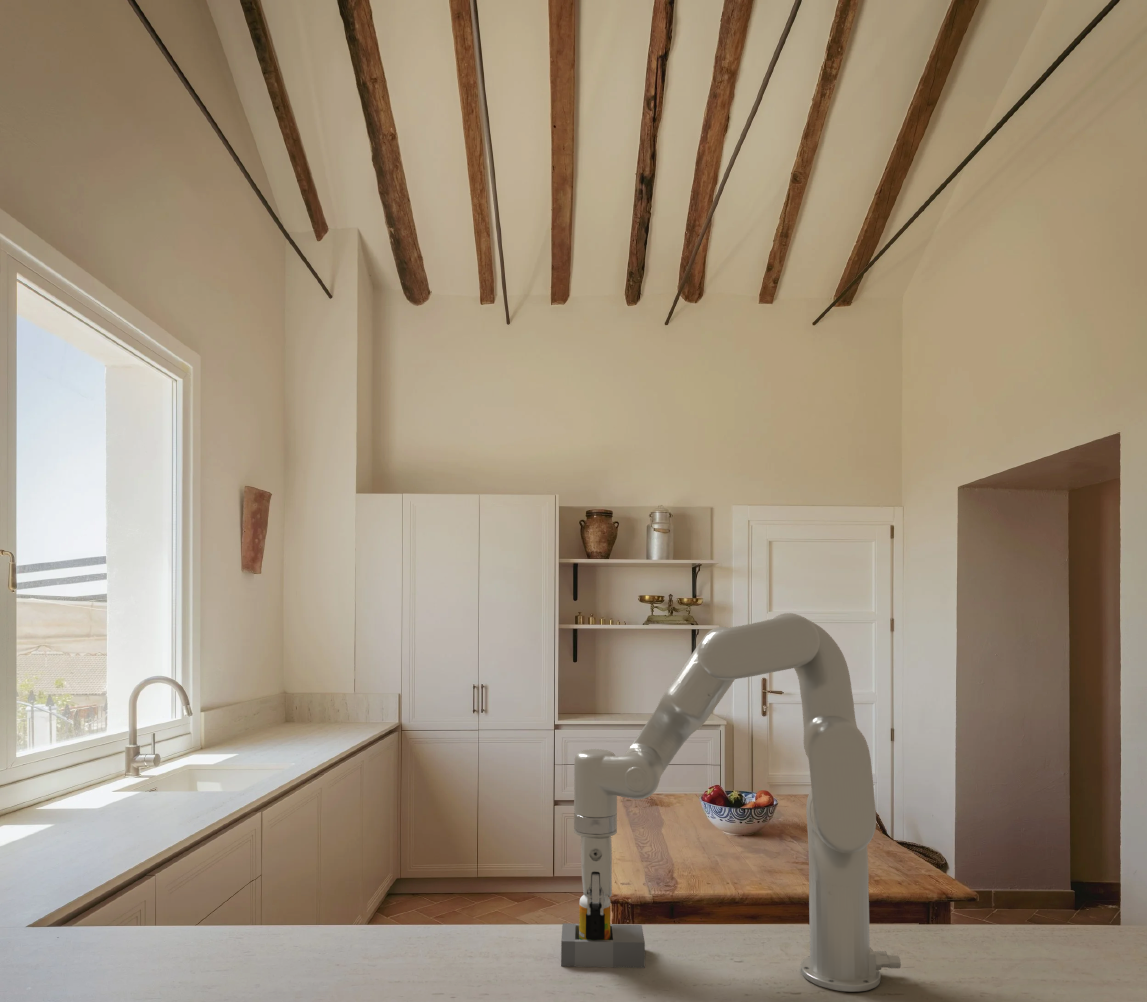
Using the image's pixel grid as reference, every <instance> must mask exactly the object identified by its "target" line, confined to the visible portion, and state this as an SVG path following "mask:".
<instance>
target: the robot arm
mask: <svg viewBox="0 0 1147 1002" xmlns="http://www.w3.org/2000/svg"><path fill="white" fill-rule="evenodd" d="M791 669H794V671H795V673H796V676H797V679H798V683H799V692H800V700H801V707H802V722H803V749H804V751H805V754H806V757H807V759H808V765H809V767H808V768H809V775H810V776H809V777H810V785H811V788H810V791H809V793H808V795H807V799H806V810H805V812H806V827H807V841H808V842H807V844H808V845H807V846H808V901H809V902H808V908H809V911H808V912H809V913H808V915H809V917H808V918H809V956H806V957H805V958H803V959H802V960H801V962H800V973H801V975H802V976H803V977H804V978H805V979H806V980H807V981H809V982H810V983H812V984H814V985H815V986H819V987H822V988H824V989H829V990H834V991H837V992H839V991H840V992H848V993H857V992H859V993H860V992H866V991H870V990H872V989H875V988H876V987H878V986H879V984H880V983H881V972H880V971H881V970H882V968H888V969H900V968H901V966H902V964H901V958H900V955H894V954H888V952H887V950H876V951H875V950H873V949H872V947H870V945H871V944H870V941H871V940H870V937H871V936H870V902H869V901H870V900H869V899H870V898H869V897H870V894H869V893H870V892H869V890H870V889H869V880H870V879H869V853H868V845H869V844H870V842H871V841H872V840H873V837H874V836H875V832H876V828H877V813H876V812H877V810H876V801H875V799H876V798H875V789H874V780H873V770H872V769H873V768H872V761H871V760H872V759H871V753H870V749H869V745H868V742H867V740H866V738H865V736H864V734H863V733H862V731H861V730H860V729H859V728H858V725H857V721H856V712H855V705H854V704H855V703H854V697H853V696H854V695H853V690H852V682H851V676H850V671H849V667H848V664H847V660H846V657H845V656H844V654H843V652H842V650H841V647H840V646H839V645H838V643H837V642H836V641H835V639H834V638H833V637H832V636H831V635H830V634H829V633H828V632H827V631H826V630H825V629H824V628H822V627H821V626H820V625H818V624H816V623H815V622H813V621H812V620H810V619H807V618H806V617H804V616H802V615H800V614H796V613H792V612H785V613H780V614H778V615H776V616H775V617H774V618H771V619H767V620H762V621H758V622H757V621H756V622H753V623H750V624H749V623H747V624H744V625H737V626H732V627H726V626H717V627H714V628H712V629H711V630H709V631H707V633H706V634H704V636H703V637H702V639H701V640H700V642H699V643H698V645H697V646H696V647H695V649H694V650H693V652H692V653H691V655H690V656H689V657H688V659H687V660H686V661H685V664H684V665H683V666H682V668H681V669H680V670H679V671H678V673H677V674H676V676H675V678H674V679H673V680H672V682H671V683H670V684H669V686H668V687H667V689H666V690H665V692H664V693H663V695H662V697H661V698H660V701H658V702H659V703H658V705H657V706H656V708H655V710H654V712H653V714H652V715H651V716H650V718H649V719H648V720H647V722H646V723H645V725H644V726H643V728H642V729H641V731H640V732H639V734H638V735H637V736H636V738H635V739H634V741H633V742H632V743H631V745H630V746H629V747H628V749H627V751H626V752H625V753H624V754H623V755H616V754H614V752H612V751H611V750H607V749H599V748H598V749H597V748H595V749H594V748H593V749H592V748H591V749H583V750H580V751H578V752H577V753H576V755H575V757H574V762H573V763H574V764H573V765H574V766H573V768H574V770H573V772H574V773H573V777H574V778H573V779H574V782H573V783H574V784H573V786H574V787H573V791H574V792H573V793H574V795H573V796H574V797H573V800H574V801H573V833H574V834H575V835H577V836H580V865H581V866H580V867H581V882H582V890H583V891H582V892H583V895H585V896H586V897H587V914H586V939H594V940H603V939H604V938H605V914H603V898H604V896H603V892H604V895H605V896H608V897H609V898H611V897H612V895H613V890H612V888H613V877H612V875H613V872H612V868H613V867H612V866H613V852H612V851H613V850H612V848H613V847H612V837H613V836H615V835H616V834H617V833H618V797H621V798H627V799H630V800H631V799H632V800H645V799H647V798H649V797H651V796H652V795H653V794H654V793H655V792H656V790H658V787H659V783H660V781H661V778H662V775H663V774H664V772H665V770H666V769H667V767H668V766H669V765H670V763H671V762H672V760H673V759H674V757H676V755H677V753H678V752H679V751H680V749H681V748H682V746H683V745H684V743H686V741H687V740H688V739H689V738H690V737H691V736H692V734H694V733H695V732H697V730H699V729H701V727H703V725H704V724H705V723H706V722H707V720H708V719H709V718H710V717H711V715H712V713H713V712H714V710H715V709H716V707H717V706H718V705H719V703H720V702H721V700H722V699H723V697H724V696H725V694H726V693H727V691H728V690H729V689H730V687H731V686H732V685H733V684H734V682H735V680H739V679H745V678H749V677H750V678H752V677H756V676H760V675H767V674H772V673H776V672H781V671H782V672H783V671H786V670H791ZM590 891H592V895H590ZM599 891H601V895H599ZM590 899H592V902H591V903H590ZM599 899H600V902H599ZM590 909H591V911H590ZM590 913H591V914H590Z"/></svg>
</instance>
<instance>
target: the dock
mask: <svg viewBox="0 0 1147 1002" xmlns="http://www.w3.org/2000/svg"><path fill="white" fill-rule="evenodd" d="M561 925H562V926H561V941H560V942H561V943H560V944H561V946H560V947H561V948H560V949H561V951H560V955H561V956H560V965H561V966H560V967H582V968H583V967H586V968H587V967H589V968H594V967H595V968H597V967H598V968H637V969H638V968H639V969H641V968H643V969H645V966H646V965H645V964H646V961H645V960H646V953H645V952H646V942H645V936H644V930H643V925H642V924H621V923H620V924H617V923H616V924H615V923H614V924H613V923H610V940H579V923H562V924H561Z"/></svg>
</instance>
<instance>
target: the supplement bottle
mask: <svg viewBox="0 0 1147 1002" xmlns="http://www.w3.org/2000/svg"><path fill="white" fill-rule="evenodd" d="M590 895H592V891H590ZM599 895H601V891H599ZM603 896H604V898H603V914H605V938H604V939H603V940H610V924H611V899H610V897H608V896H605V895H604V892H603ZM591 902H592V899H590V903H591ZM599 902H600V899H599ZM578 906H579V908H578V909H579V911H578V912H579V913H578V914H579V915H578V918H579V919H578V921H579V923H578V924H579V940H594V939H586V914H587V897H586V896H585V895H584V894H583V895H582V896H581V897H580V898H579V904H578ZM590 911H591V909H590ZM590 914H591V913H590Z"/></svg>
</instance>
